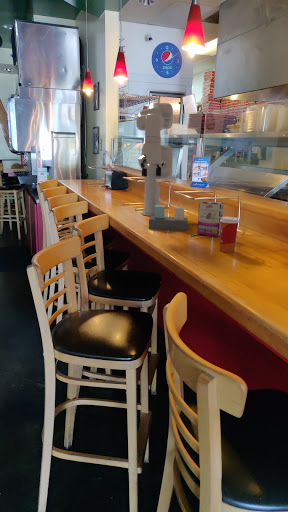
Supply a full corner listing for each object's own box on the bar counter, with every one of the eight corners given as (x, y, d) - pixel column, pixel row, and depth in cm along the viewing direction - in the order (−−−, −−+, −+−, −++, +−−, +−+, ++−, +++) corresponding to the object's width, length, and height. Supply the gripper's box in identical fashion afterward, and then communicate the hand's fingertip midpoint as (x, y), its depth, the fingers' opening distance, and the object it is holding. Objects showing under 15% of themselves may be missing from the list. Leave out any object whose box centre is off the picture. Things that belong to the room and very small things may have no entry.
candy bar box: (221, 235, 183) (224, 202, 178) (218, 237, 178) (221, 203, 174) (200, 232, 188) (202, 200, 183) (196, 234, 183) (198, 201, 179)
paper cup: (222, 247, 160) (225, 215, 156) (239, 250, 155) (242, 218, 151) (213, 251, 154) (216, 218, 150) (230, 254, 149) (233, 220, 145)
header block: (150, 224, 203) (151, 205, 199) (187, 226, 200) (188, 206, 197) (148, 228, 193) (149, 207, 190) (187, 230, 191) (188, 209, 188)
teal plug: (154, 226, 200) (155, 205, 197) (163, 226, 199) (164, 205, 196) (153, 228, 195) (154, 206, 192) (163, 228, 195) (164, 206, 191)
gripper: (159, 141, 190) (158, 175, 194) (134, 140, 178) (133, 176, 183) (170, 141, 184) (168, 176, 189) (144, 140, 173) (143, 177, 178)
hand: (151, 176), depth 186 cm, fingers open, 9 cm apart
